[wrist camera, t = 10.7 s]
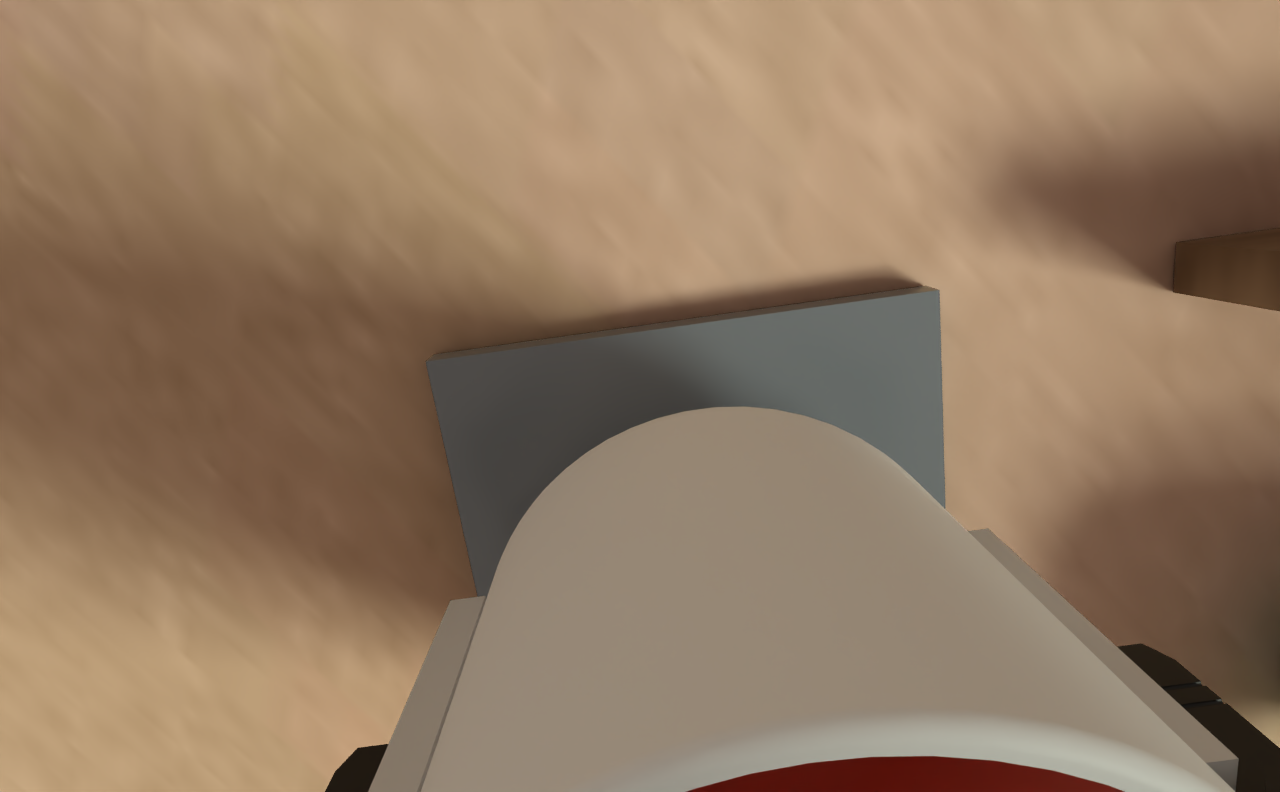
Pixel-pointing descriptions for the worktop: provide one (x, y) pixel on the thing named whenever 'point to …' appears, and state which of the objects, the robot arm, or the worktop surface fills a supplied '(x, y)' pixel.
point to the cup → (777, 636)
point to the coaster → (684, 394)
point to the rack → (1231, 268)
